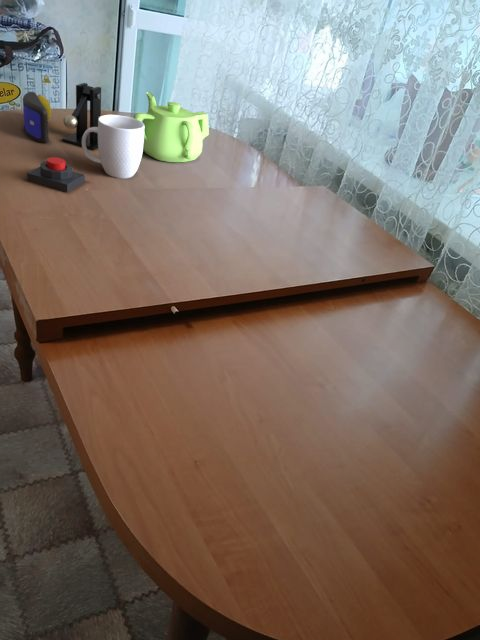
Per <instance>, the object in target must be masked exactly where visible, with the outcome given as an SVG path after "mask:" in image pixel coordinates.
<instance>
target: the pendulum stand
mask: <svg viewBox="0 0 480 640" xmlns="http://www.w3.org/2000/svg"><path fill="white" fill-rule="evenodd" d="M86 85H87V86H89V85H88V83H87V82H83V83H78V84H76V85H75V108H76V107H77V106H78V104H79V102H80V101H81V99H82V98H83V95H82V91H83V89H84V88H85V86H86ZM88 102H89V128H91V127H98V118H99V117H100V116H102V87H101V86H96V87H94V88H92V89H90V101H87V102H86V104H85V106H84V107H83V109H82V110H81V112H80V114H79V115H78V117H77V118H76V119H77V126H76V127H75V128H76V129H75V130H76V132H75V133H73V134H71V135H68V136H66V137H63V138H62V143H65V144H69V145H72V146H76V147H79V148H82V137H83V134H84V133H85V131H86V130H87V129H88ZM86 147H87V150H88V151H89V150H90V151H95V150H97V149H98V134H97V133H95V132H90V133H89V134H88V135H87V138H86Z"/></svg>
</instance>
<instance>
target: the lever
mask: <svg viewBox="0 0 480 640" xmlns="http://www.w3.org/2000/svg"><path fill="white" fill-rule="evenodd" d="M92 88H95V87H94V86H91V85H88V86H87V85H86V86H85V88H84V89H83V91H82V95H83V98H82V99H81V101H80V102H79V104H78V106H77V107H76V106H75V109H74V111H73V112H72V113H71V114H67V115H65V117H64V118H63V124H64V126H65V127H66V128H67V129H70V130H73V129H75V128H76V126H77V119H76V118H77V117H78V115H79V114H80V112H81V110H82V109H83V107H84V106H85V104H86V102H87V101H88V102H90V89H92ZM88 102H87V103H88Z"/></svg>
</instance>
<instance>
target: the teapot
mask: <svg viewBox="0 0 480 640" xmlns="http://www.w3.org/2000/svg"><path fill="white" fill-rule="evenodd" d="M145 95H146V97H147V100H148V108H147V112H146V113H144V112H137V113H135V114H134V115H133V118H134V119H137V120H139V121H141V122H142V123H143V124H144V143H143V152H144V153H145V154H146V155H148V156H150V157H151V158H153V159H155V160H158V161H161V162H167V163H186V162H191V161H194V160H196V159H197V158H199V156H200V155H201V154H202V152H203V140H204V139H206V138H207V137H208V136H209V135H210V130H209V115H208V113H206V112H205V111H194V112H191V110H188V109H186V108H184V107H181V105H182V104H180V103H179V102H176V101H168V102H167V105H157V100H156V98H155V96H154V94H152V93H151V92H149V91H146V92H145Z"/></svg>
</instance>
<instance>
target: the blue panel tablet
mask: <svg viewBox="0 0 480 640" xmlns="http://www.w3.org/2000/svg"><path fill="white" fill-rule="evenodd" d="M22 110H23V125H24V126H23V127H24V132H25V134H26V135H27V136H28V137H29V138H30V139H31V140H33V141H35V142H37V143H40V144H47V143H48V142H49V125H48V124H49V123H48V120H47V111H46V108H45V107H44V105H43V104H42V102H41V101H40V99H39V98H38V94H37V93H36V92H34V91H28V92H26V93H25V94H24V95H23V96H22Z"/></svg>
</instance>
